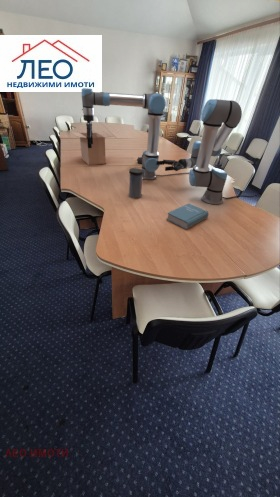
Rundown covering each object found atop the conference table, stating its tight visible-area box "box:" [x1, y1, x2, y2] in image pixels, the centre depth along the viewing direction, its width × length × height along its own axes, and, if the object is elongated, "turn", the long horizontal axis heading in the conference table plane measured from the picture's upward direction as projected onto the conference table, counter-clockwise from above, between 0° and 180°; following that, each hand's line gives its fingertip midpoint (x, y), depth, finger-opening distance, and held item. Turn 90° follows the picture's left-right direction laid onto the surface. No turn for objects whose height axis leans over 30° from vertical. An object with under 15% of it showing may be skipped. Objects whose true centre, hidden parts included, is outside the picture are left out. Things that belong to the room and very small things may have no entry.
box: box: [70, 129, 114, 166], centre depth 229 cm, size 44×36×27 cm
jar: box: [128, 173, 143, 199], centre depth 164 cm, size 9×9×19 cm
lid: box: [128, 167, 143, 175], centre depth 159 cm, size 10×10×2 cm
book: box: [166, 203, 209, 230], centre depth 143 cm, size 23×16×5 cm
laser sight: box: [136, 154, 143, 165], centre depth 237 cm, size 10×22×10 cm, turn 78°
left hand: (90, 146), depth 173 cm, fingers open, 13 cm apart
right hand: (160, 165), depth 167 cm, fingers open, 13 cm apart
